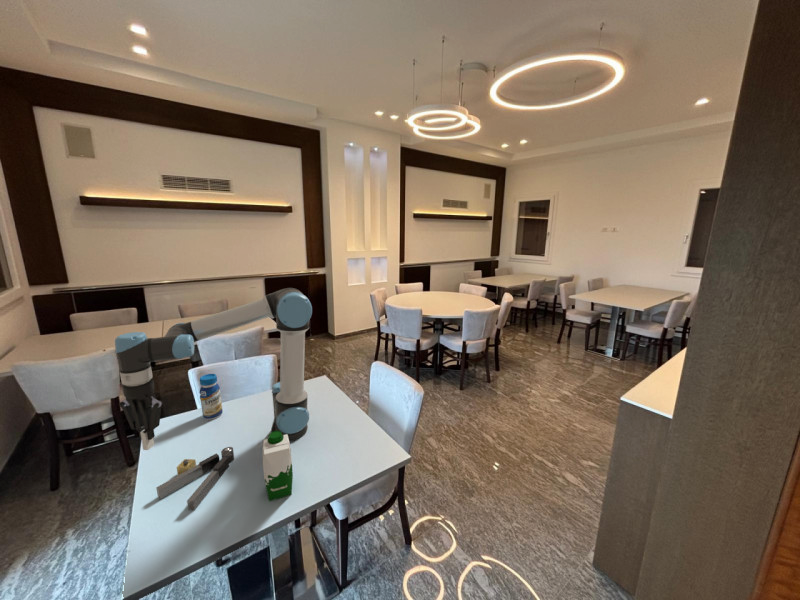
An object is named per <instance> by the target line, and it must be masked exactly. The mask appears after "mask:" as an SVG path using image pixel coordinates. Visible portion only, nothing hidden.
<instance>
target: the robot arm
mask: <svg viewBox="0 0 800 600" xmlns="http://www.w3.org/2000/svg"><path fill="white" fill-rule="evenodd" d="M312 315H313V306H312V303H311V301H310V299H309V298H308V297H307V296H306V295H304V293H303V292H302V291H300V290H299V289H297V288H293V287H287V288H282V289H279V290H276V291H274V292H272V293H268V294H265V295H264V296H263V297H262V298H261V299H257V300H255V301H252V302H249V303H246V304H243V305H239V306H236V307H232V308H230V309H226V310H224V311H223V310H222V311H221V312H217V313H214V314H211V315H207V316H204V317H200V318H198V319H195V320H191V321H188V322H178V323H176V324H174V325H172V326H171V327H170V328H169V329H168V330H167V332H166V333H165V335H164V336H162V337H161V336H159V337H149V338H148V336H147V334H146V333H145V332H143V331H139V332H138V331H132V332H126V333H123V334H120V335H118V336H117V337H115V339H114V346H115V356H116V360H117V365H118V371H119V375H120V381H121V384H122V386H121V388H122V392H123V397H125V399H124V400H123V401H120V402H119V403H118V405H119V407H120V408H121V409H122V410H123V413H124V415H125V417H126V420H127V422H128V425H129V426H130V429H131V430H132V431H133V430H135V431H137V432H138V436H139V440H141V444H142V449H143V451H149V450H150V449H151V448H152V447H154V446H155V440H154V438H155V430H156V428H158V427H159V426H160V424H161V423H160V422H161V412H162V407H163V404H164V400H163V399H161V400H158V399H157V398H156V396H155V393H154V390H155V383H154V379H153V371H152V365H151V363H154V362H163V361H171V360H182V359H186V358H190V357H192V356H194V354H195V343H196V342H199V341H201V340H205V339H208V338H210V337H214V336H217V335H219V334H222V333H225V332H229V331H231V330H234V329H237V328H240V327H244V326H247V325H249V324H252V323H255V322H258V321H262V320H266V319H267V318H271V319H275V318H276V319H275V320H276V322H275V323H276V326H275V327H276V328H275V329H276V330H277V331H278V332H280V367H279V368H280V370H279V371H280V372H279V373H280V374H279V375H280V376H279V380H280V381H278V382H276V383H275V384H273V385H272V388H271V395H272V406H273V416H274V417H273V421H272V425H271V429H270V433H272V432H274V431H280V432H281V433H282V435H286V434H287V435H288V438H289V442H293V441H296V440H298V439H300V438H301V437H303V436H305V434H306V433H307V431H308V423H309V421H310V413H309V410H308V396H309V395H308V394H309V393H308V392H307V390H305V389H304V388H305V387H304V385H305V352H306V351H305V348H306V347H305V346H306V345H305V344H306V332H307V331H308V330H309V329H310V322H311V321H310V319H311V318H312Z"/></svg>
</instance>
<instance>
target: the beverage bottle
mask: <svg viewBox="0 0 800 600" xmlns="http://www.w3.org/2000/svg"><path fill="white" fill-rule="evenodd" d="M217 382H218V377H217V375H216V373H208V374H207V373H206V374H204V375H202V376H200V377H199V384H200V386H201V387H200V388H199V394H200V395H199V399H200V405H201V413H202V418H203V419H204V420H206V421H207V420H208V421H209V420H214V419H218V418H219V417H220V416H222V414H223V412H224V411H223V410H224V409H223V405H222V393H221V387H220V384H218V383H217Z"/></svg>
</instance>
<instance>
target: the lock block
mask: <svg viewBox="0 0 800 600" xmlns="http://www.w3.org/2000/svg"><path fill="white" fill-rule="evenodd" d="M196 465H197V462H196V459H193V458H192V459H190V458H184V459H183V460H182V461H181V462H180V463H179V464H178V465H177V466H176V473H177V476H178V475H180V474H182V473H184V472H185V471H187V470H189V469H191V468H193V467H195V466H196Z"/></svg>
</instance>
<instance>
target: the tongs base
mask: <svg viewBox="0 0 800 600" xmlns="http://www.w3.org/2000/svg"><path fill="white" fill-rule="evenodd" d="M220 453H221V459H220V461H219V462H218V463H217V464H216V466H215V467H214V468H213V469H212V470H211V471H210V473H209V474H208V475H207V476H206V477H205V479H204V480H203V481H202V482H201V484H200V485H198V488H196V489H195V491H193V493H192V494H191V495H190V497H188V499H187V500H186V503H187V509H188V511H196V509H197V508H198V507H199V505H200V504H202V502H203V500H204V499H205V498H206V497H207V495H208V494H209V493H210V492H211V491H212V489H213V488H214V487H215V485H216V484H217V483H218V482H219V480H220V479H221V478H222V477H223V475H224V474H225V472H226V471H227V470H228V468H230V464H231V463H233V461H235V453H234V447H232V446H226V447H224V448H222V449H221V452H220Z"/></svg>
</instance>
